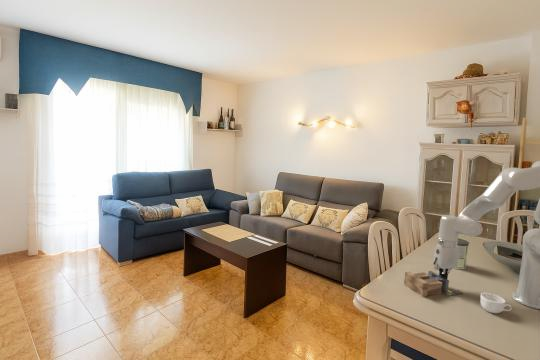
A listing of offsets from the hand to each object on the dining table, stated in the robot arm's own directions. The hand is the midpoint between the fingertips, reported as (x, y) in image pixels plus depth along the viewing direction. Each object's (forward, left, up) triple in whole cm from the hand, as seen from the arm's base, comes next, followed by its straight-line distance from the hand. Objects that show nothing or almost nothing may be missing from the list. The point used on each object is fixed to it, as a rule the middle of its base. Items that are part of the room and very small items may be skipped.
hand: (442, 280), depth 134 cm
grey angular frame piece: (-1, +7, -2) cm, 8 cm away
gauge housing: (-1, +6, -3) cm, 7 cm away
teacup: (-21, -4, -3) cm, 22 cm away
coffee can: (+18, -27, -3) cm, 33 cm away
